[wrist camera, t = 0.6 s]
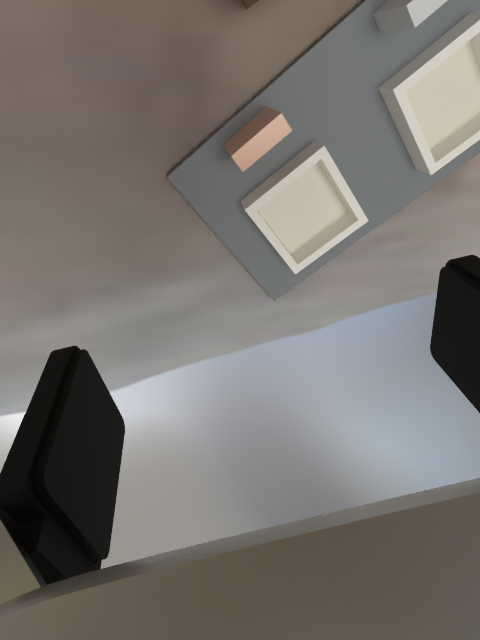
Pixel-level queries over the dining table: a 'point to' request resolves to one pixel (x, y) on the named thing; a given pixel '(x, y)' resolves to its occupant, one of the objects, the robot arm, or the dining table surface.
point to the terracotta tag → (257, 137)
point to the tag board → (343, 141)
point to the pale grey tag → (404, 13)
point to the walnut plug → (249, 2)
